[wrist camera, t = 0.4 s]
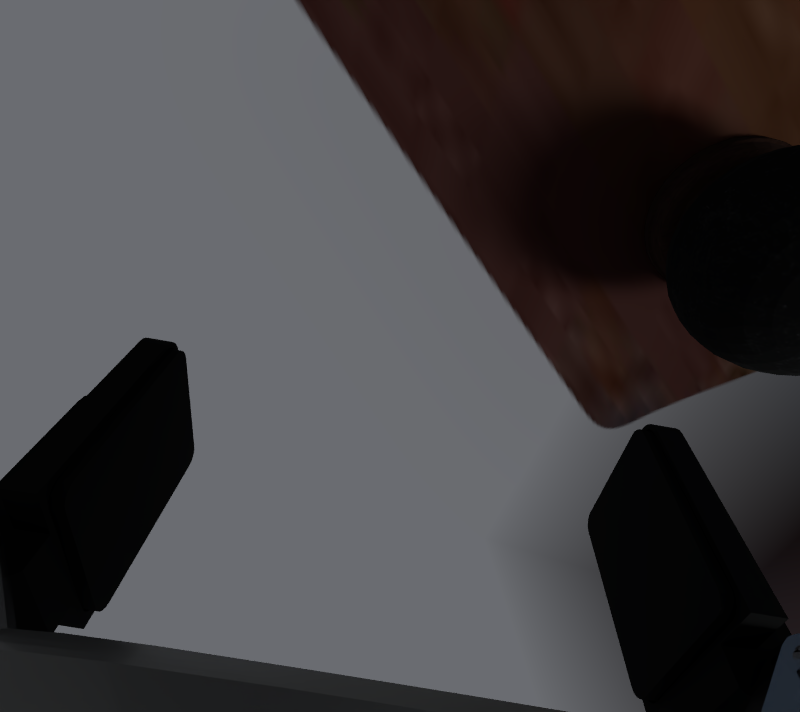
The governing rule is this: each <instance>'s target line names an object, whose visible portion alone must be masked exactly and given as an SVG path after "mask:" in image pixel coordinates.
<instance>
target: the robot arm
mask: <svg viewBox="0 0 800 712" xmlns="http://www.w3.org/2000/svg"><path fill="white" fill-rule="evenodd" d="M193 454H194V440H193V429H192V418H191V409H190V397H189V386H188V375H187V364H186V356H185V353H184V352H183V351H179V350H178V347H177V345H176V344H175V343H173V342H169V341H163V340H157V339H151V338H143V339H142V340H141V341H140V342H139V343H138V344H137V345H136V346H135V347H134V348H133V349H132V350H131V351H130V352H129V353H128V354H127V355H126V356H125V357H124V358H123V359H122V360H121V361H120V362H119V363H118V364H117V365H116V366H115V367H114V368H113V370H111V371H110V373H108V375H107V376H106V377H105V378H104V379H103V380H102V381H101V382H100V383H99V384H98V385H97V386H96V387H95V388H94V389H93V390H92V391H91V392H90V393H89V394H88V395H87V396H84V397H83V398H82V399H81V400H79V401H78V402H77V403H76V404H75V405H74V406H73V407H72V408H71V409H70V410H69V411H68V412H67V413H66V414H65V415H64V416H63V417H62V418H61V419H60V420H59V421H58V422H57V423H56V425H54V426H53V427H52V428H51V430H49V431H48V433H47V434H46V435H45V436H44V437H43V438H42V439H41V440H40V441H39V442H38V443H37V444H36V445H35V446H34V447H33V448H32V449H31V450H30V451H29V452H28V453H27V454H26V455H25V456H24V457H23V458H22V459H21V460H20V461H19V462H18V463H17V464H16V465H15V466H14V467H13V468H12V469H11V470H10V471H9V472H8V473H7V474H6V475H5V476H4V477H3V478H2V480H1V481H0V712H566V711H560V710H554V709H548V708H542V707H535V706H529V705H523V704H518V703H512V702H506V701H499V700H494V699H487V698H481V697H475V696H469V695H463V694H457V693H450V692H444V691H438V690H432V689H426V688H419V687H413V686H407V685H401V684H395V683H389V682H382V681H376V680H370V679H363V678H357V677H351V676H345V675H339V674H332V673H326V672H320V671H314V670H307V669H301V668H295V667H288V666H282V665H275V664H269V663H262V662H256V661H249V660H243V659H236V658H230V657H224V656H217V655H211V654H204V653H198V652H192V651H185V650H179V649H172V648H166V647H159V646H152V645H145V644H137V643H129V642H122V641H115V640H109V639H101V638H94V637H86V636H79V635H72V634H65V633H55V632H54V631H55V629H56V628H57V626H58V625H62V626H68V627H75V628H81V629H84V628H85V626H86V624H87V623H88V621H89V619H90V618H91V616H92V614H93V613H94V611H102V610H103V609H104V608H105V607H106V606H107V604H108V603H109V601H110V600H111V598H112V596H113V595H114V593H115V591H116V590H117V588H118V586H119V584H120V582H121V581H122V579H123V577H124V576H125V574H126V572H127V570H128V569H129V567H130V565H131V564H132V562H133V561H134V559H135V557H136V555H137V554H138V552H139V550H140V548H141V547H142V545H143V543H144V542H145V540H146V538H147V537H148V535H149V533H150V532H151V530H152V528H153V526H154V525H155V523H156V521H157V519H158V518H159V516H160V514H161V513H162V511H163V509H164V508H165V506H166V504H167V503H168V501H169V499H170V497H171V496H172V494H173V492H174V491H175V489H176V487H177V485H178V484H179V482H180V480H181V479H182V477H183V475H184V474H185V472H186V470H187V468H188V467H189V465H190V463H191V461H192V457H193ZM588 531H589V535H590V538H591V542H592V545H593V549H594V552H595V556H596V560H597V563H598V567H599V570H600V574H601V578H602V581H603V585H604V589H605V592H606V596H607V599H608V603H609V606H610V610H611V614H612V617H613V621H614V624H615V628H616V632H617V635H618V639H619V643H620V646H621V650H622V653H623V657H624V661H625V664H626V668H627V671H628V675H629V679H630V682H631V686H632V689H633V691H634V693H635V695H636V696H637V697H638V698H639V699H642V700H643V703H644V706H645V710H646V712H800V634H798V633H797V634H794V635H791V633H790V631H789V629H788V628H787V626H786V624H785V621H787V619H788V617H787V615H786V614H785V612H784V610H783V609H782V607H781V605H780V603H779V602H778V600H777V598H776V596H775V595H774V593H773V591H772V589H771V588H770V586H769V584H768V583H767V581H766V579H765V577H764V575H763V574H762V572H761V570H760V568H759V567H758V565H757V563H756V562H755V560H754V558H753V556H752V554H751V553H750V551H749V549H748V547H747V546H746V544H745V542H744V541H743V539H742V537H741V535H740V533H739V532H738V530H737V528H736V526H735V525H734V523H733V521H732V520H731V518H730V516H729V514H728V513H727V511H726V509H725V507H724V506H723V504H722V502H721V500H720V499H719V497H718V495H717V493H716V492H715V490H714V488H713V487H712V485H711V483H710V481H709V480H708V478H707V476H706V474H705V472H704V471H703V469H702V467H701V465H700V464H699V462H698V460H697V459H696V457H695V455H694V453H693V451H692V450H691V448H690V446H689V445H688V443H687V441H686V439H685V438H684V436H683V434H682V433H681V432H680V430H678V429H676V428H670V427H664V426H658V425H652V424H649V425H646V426H645V427H644V428H643V429H642V430H640V429H639V430H636V431H635V432H634V433H633V435H632V437H631V438H630V440H629V442H628V444H627V446H626V448H625V450H624V451H623V453H622V455H621V457H620V459H619V461H618V463H617V464H616V466H615V468H614V470H613V472H612V474H611V475H610V477H609V479H608V481H607V483H606V485H605V487H604V488H603V490H602V492H601V494H600V496H599V498H598V500H597V501H596V503H595V505H594V507H593V509H592V511H591V512H590V515H589V519H588Z"/></svg>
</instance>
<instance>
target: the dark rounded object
mask: <svg viewBox="0 0 800 712" xmlns="http://www.w3.org/2000/svg"><path fill="white" fill-rule="evenodd" d="M644 238H645V245H646V251H647V253H648V256H649V258H650V260H651V262H652V264H653V265H654V266H655V268H656V269H657V270H658V272H659V273H660V274H661V275H662V276H663V277H664V278H665V279H666V281H667V288H668V296H669V298H670V301H671V303H672V306H673V308H674V311H675V313H676V314H677V316H678V318H679V320H680V322H681V323H682V324H683V326H684V327H685V328H686V330H687V331H688V332H689V333H690V335H691V336H692V337H694V338H695V339H696V340H697V341H698V342H699V343H700V344H701V345H703V346H704V347H705V348H707V349H708V350H709V351H710V352H712V353H713V354H715V355H717V356H719V357H721V358H723V359H725V360H727V361H730V362H732V363H734V364H736V365H738V366H741V367H743V368H746V369H750V370H755V371H759V372H764V373H770V374H776V375H792V376H800V145H797V146H792V145H790V144H788V143H786V142H783V141H780V140H776V139H772V138H768V137H763V136H745V137H739V138H733V139H728V140H726V141H723V142H720V143H717V144H714V145H711V146H710V147H708V148H706V149H704V150H702V151H700V152H698V153H697V154H695V155H694V156H692V157H691V158H690V159H688V160H687V161H686V162H684V163H683V164H682V165H680V166H679V167H678V168H677V169H676V170H675V171H674V172H673V173H672V174H671V175H670V176H669V177H668V179H667V180H666V181H665V183H664V184H663V185H662V187H661V188H660V190H659V191H658V192H657V194H656V196H655V198H654V200H653V202H652V204H651V206H650V208H649V212H648V216H647V219H646V223H645V236H644Z"/></svg>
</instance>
